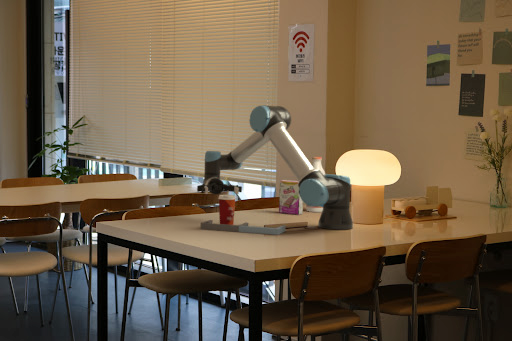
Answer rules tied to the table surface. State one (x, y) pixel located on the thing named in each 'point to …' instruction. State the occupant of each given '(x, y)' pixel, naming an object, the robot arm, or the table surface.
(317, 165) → the fruit juice
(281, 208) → the candy bar box
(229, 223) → the paper cup
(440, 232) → the table surface
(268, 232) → the bay organizer
